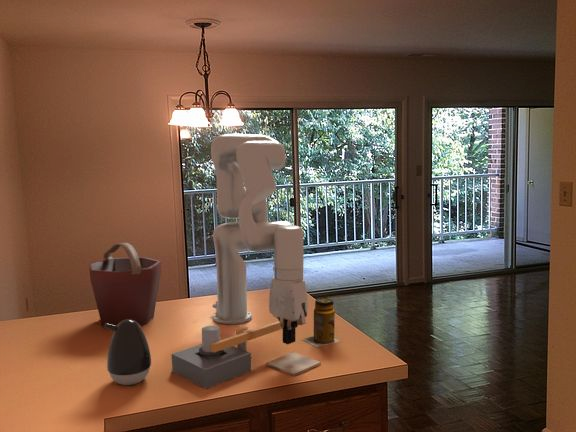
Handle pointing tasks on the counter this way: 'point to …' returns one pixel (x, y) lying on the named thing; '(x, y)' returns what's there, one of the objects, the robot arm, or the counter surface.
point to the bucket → (125, 286)
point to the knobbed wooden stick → (244, 336)
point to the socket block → (211, 365)
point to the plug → (209, 342)
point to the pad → (293, 363)
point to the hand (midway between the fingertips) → (289, 342)
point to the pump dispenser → (128, 353)
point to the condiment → (323, 323)
